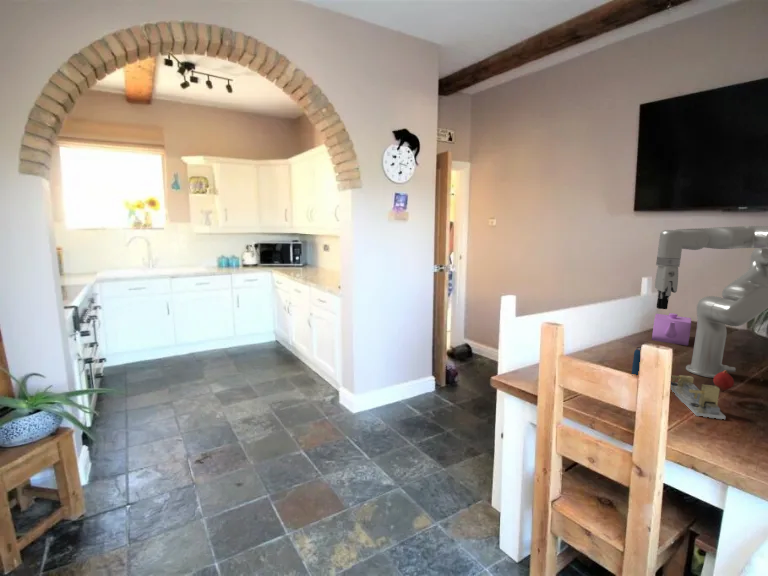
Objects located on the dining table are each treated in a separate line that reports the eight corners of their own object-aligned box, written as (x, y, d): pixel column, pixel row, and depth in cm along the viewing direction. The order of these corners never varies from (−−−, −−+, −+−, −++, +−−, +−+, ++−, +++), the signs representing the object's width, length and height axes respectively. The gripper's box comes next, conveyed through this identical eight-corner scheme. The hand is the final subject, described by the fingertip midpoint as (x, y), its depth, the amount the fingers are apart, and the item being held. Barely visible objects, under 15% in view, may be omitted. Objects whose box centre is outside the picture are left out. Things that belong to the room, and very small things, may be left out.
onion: (707, 387, 153) (711, 366, 151) (723, 387, 152) (727, 367, 151) (719, 393, 147) (723, 372, 145) (736, 394, 147) (739, 373, 145)
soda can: (650, 383, 156) (654, 353, 153) (629, 378, 160) (633, 349, 158) (653, 377, 161) (657, 348, 159) (632, 373, 165) (636, 345, 163)
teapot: (650, 343, 205) (654, 316, 202) (653, 332, 225) (656, 307, 222) (688, 349, 196) (692, 321, 194) (687, 337, 216) (691, 311, 214)
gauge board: (690, 387, 152) (691, 375, 152) (724, 419, 128) (727, 406, 127) (664, 384, 155) (666, 372, 154) (694, 415, 130) (696, 402, 129)
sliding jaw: (713, 405, 135) (716, 385, 133) (716, 408, 132) (720, 388, 131) (685, 401, 137) (688, 382, 136) (688, 405, 134) (691, 385, 133)
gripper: (687, 265, 149) (680, 313, 152) (671, 260, 163) (665, 305, 167) (663, 264, 151) (657, 312, 155) (650, 259, 165) (644, 304, 169)
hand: (661, 308), depth 161 cm, fingers closed
